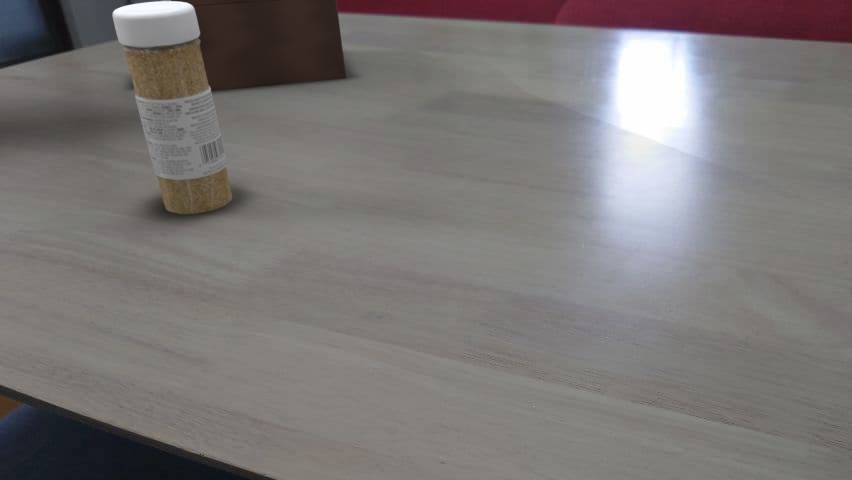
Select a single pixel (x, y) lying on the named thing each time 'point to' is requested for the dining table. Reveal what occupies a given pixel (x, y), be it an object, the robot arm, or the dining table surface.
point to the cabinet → (268, 42)
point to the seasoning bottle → (175, 104)
